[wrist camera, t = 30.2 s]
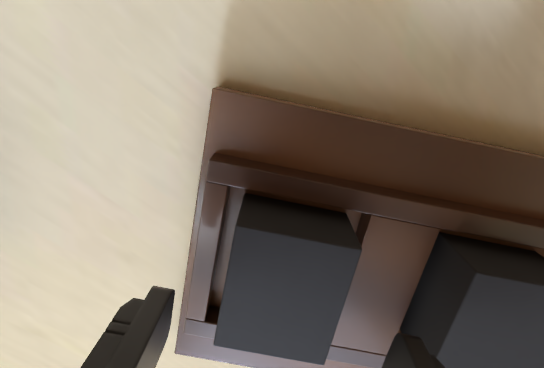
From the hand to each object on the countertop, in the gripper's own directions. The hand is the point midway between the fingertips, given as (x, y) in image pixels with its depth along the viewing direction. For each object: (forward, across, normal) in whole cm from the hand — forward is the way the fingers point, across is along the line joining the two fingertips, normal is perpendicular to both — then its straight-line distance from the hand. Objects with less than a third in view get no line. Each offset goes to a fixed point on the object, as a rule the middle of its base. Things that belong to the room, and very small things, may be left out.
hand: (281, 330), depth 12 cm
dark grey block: (+5, -10, 0) cm, 11 cm away
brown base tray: (+7, -5, 0) cm, 8 cm away
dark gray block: (+5, 0, 0) cm, 5 cm away
